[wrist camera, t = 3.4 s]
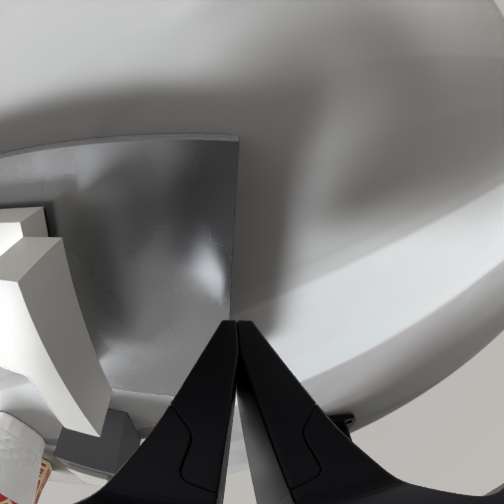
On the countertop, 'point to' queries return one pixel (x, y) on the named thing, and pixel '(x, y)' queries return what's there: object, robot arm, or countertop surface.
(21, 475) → the white cup
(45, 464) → the milk carton
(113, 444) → the plug
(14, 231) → the panel
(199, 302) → the socket plate
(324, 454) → the robot arm
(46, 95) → the countertop surface
